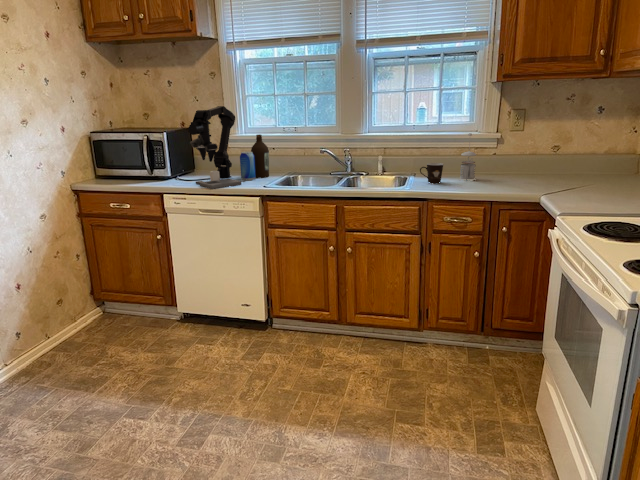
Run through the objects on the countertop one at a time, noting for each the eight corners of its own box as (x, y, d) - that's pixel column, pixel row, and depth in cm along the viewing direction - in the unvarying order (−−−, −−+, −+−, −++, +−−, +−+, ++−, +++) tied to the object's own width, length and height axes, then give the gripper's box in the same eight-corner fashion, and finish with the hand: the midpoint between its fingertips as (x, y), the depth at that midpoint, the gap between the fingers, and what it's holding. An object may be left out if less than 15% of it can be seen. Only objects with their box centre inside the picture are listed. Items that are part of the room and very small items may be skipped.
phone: (201, 182, 275) (201, 180, 275) (207, 184, 270) (206, 182, 270) (195, 183, 273) (195, 181, 273) (201, 185, 268) (201, 183, 268)
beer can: (258, 179, 282) (257, 151, 278) (247, 181, 276) (245, 153, 272) (249, 177, 288) (247, 151, 283) (238, 179, 282) (236, 152, 277)
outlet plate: (228, 181, 276) (228, 178, 276) (241, 184, 266) (241, 181, 265) (200, 186, 265) (199, 182, 265) (212, 189, 255) (211, 185, 254)
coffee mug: (443, 181, 260) (444, 163, 257) (440, 184, 252) (441, 165, 249) (422, 180, 264) (423, 162, 261) (418, 183, 257) (419, 164, 254)
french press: (474, 177, 269) (477, 132, 261) (479, 181, 258) (482, 134, 250) (456, 178, 270) (459, 132, 262) (460, 181, 259) (463, 134, 251)
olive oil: (250, 178, 287) (247, 135, 280) (255, 175, 297) (253, 134, 290) (267, 178, 285) (264, 135, 278) (272, 175, 295) (270, 133, 288)
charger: (216, 180, 281) (215, 170, 279) (220, 181, 278) (219, 171, 276) (210, 181, 279) (209, 171, 277) (213, 182, 276) (212, 171, 274)
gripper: (184, 133, 272) (187, 160, 277) (197, 135, 258) (200, 164, 263) (202, 131, 279) (205, 158, 283) (216, 133, 264) (219, 161, 269)
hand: (207, 160), depth 274 cm, fingers open, 9 cm apart
